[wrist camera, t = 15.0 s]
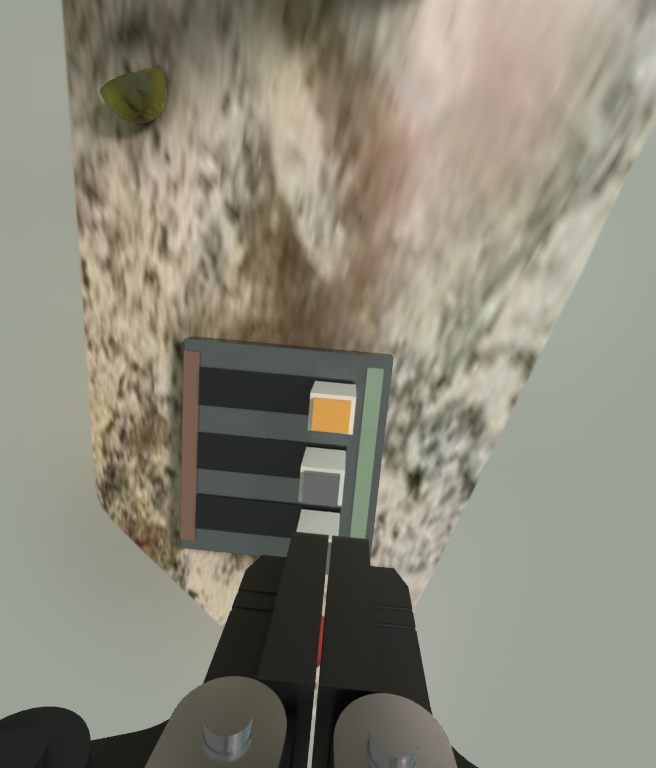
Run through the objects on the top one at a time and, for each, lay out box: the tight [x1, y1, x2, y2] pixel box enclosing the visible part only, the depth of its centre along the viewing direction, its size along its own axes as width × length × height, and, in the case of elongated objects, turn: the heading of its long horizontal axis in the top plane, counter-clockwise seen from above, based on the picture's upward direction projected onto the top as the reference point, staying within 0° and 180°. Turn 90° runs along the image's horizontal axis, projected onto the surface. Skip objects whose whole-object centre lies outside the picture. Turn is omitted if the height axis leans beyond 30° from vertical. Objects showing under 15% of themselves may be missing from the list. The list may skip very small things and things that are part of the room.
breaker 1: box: [298, 447, 346, 506], centre depth 39 cm, size 3×4×5 cm
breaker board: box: [180, 337, 393, 557], centre depth 43 cm, size 20×18×2 cm
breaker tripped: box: [308, 381, 356, 435], centre depth 37 cm, size 3×4×5 cm
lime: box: [100, 66, 167, 123], centre depth 36 cm, size 4×5×5 cm
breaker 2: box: [296, 509, 340, 574], centre depth 40 cm, size 3×4×5 cm
